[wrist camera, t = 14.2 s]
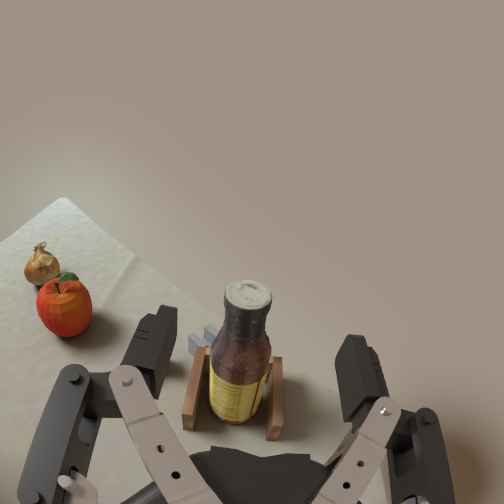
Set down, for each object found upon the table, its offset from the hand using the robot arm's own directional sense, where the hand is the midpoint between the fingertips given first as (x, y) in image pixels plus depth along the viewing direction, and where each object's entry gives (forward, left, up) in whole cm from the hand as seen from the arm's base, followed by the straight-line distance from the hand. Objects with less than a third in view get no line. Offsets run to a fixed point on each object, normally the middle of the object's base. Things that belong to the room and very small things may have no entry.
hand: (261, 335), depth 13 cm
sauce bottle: (0, +11, -26) cm, 28 cm away
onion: (-40, +28, -26) cm, 55 cm away
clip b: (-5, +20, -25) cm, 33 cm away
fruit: (-28, +19, -26) cm, 42 cm away
